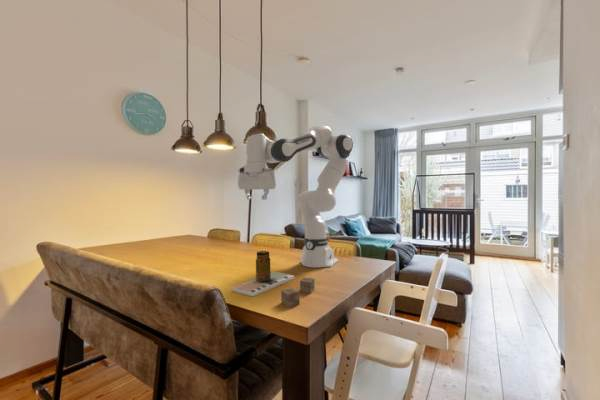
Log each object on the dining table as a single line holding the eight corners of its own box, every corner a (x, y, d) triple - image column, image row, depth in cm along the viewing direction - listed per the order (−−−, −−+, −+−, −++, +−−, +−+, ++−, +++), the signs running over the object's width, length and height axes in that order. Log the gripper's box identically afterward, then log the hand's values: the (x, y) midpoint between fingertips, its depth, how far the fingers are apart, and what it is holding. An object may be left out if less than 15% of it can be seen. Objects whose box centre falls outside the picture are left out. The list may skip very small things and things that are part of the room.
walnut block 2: (303, 288, 114) (303, 277, 114) (314, 289, 112) (314, 278, 112) (300, 292, 109) (300, 280, 109) (311, 293, 108) (311, 281, 108)
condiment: (258, 277, 124) (257, 250, 123) (277, 278, 122) (276, 250, 122) (252, 282, 116) (252, 253, 116) (272, 283, 115) (272, 254, 115)
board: (275, 274, 133) (275, 271, 133) (294, 278, 127) (294, 275, 127) (232, 290, 111) (232, 287, 111) (252, 296, 105) (252, 292, 105)
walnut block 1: (292, 300, 101) (292, 288, 101) (299, 304, 98) (299, 291, 97) (281, 303, 99) (281, 290, 99) (288, 307, 95) (288, 294, 95)
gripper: (278, 168, 126) (278, 199, 127) (245, 170, 138) (245, 199, 138) (269, 167, 121) (269, 199, 121) (235, 169, 133) (236, 199, 133)
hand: (256, 199), depth 130 cm, fingers open, 8 cm apart
